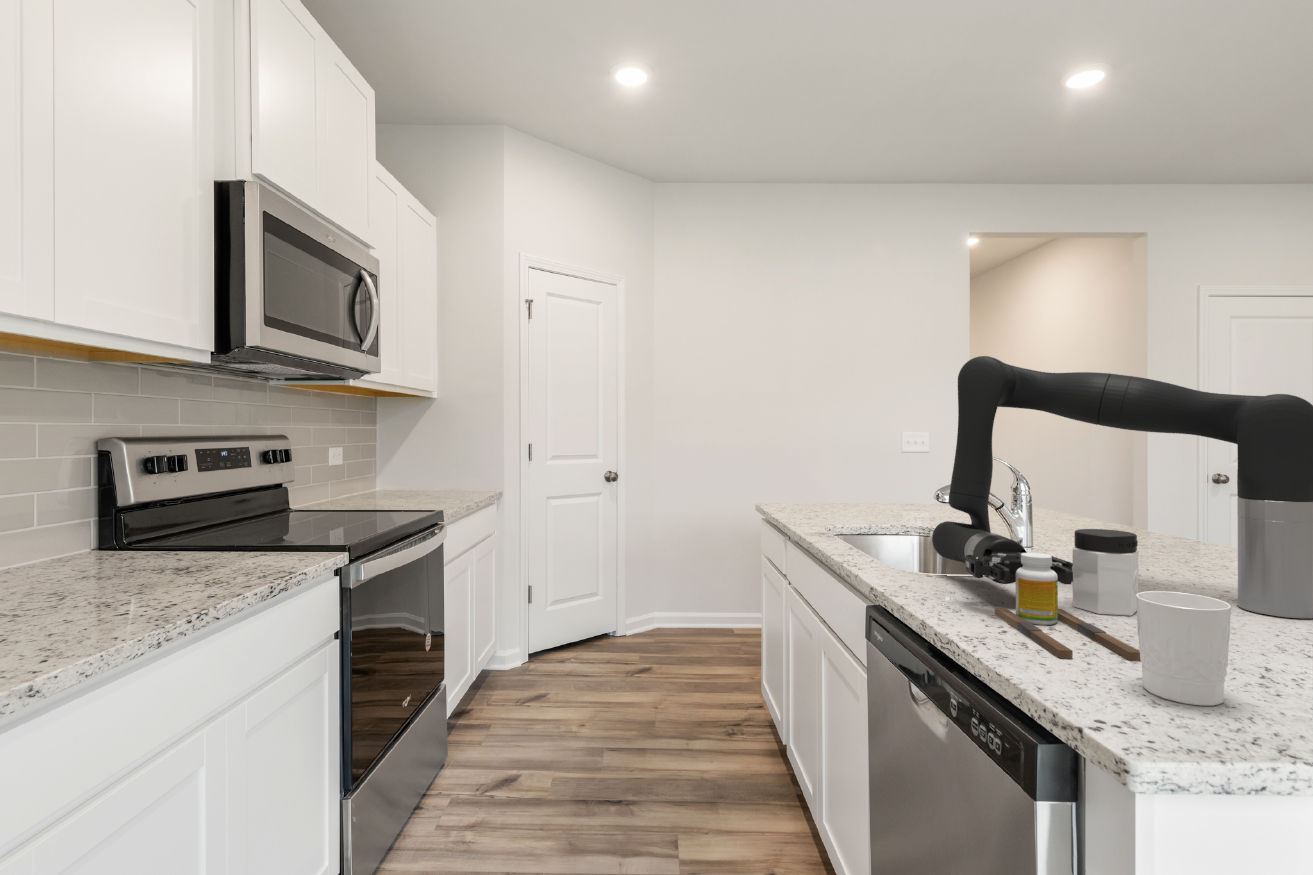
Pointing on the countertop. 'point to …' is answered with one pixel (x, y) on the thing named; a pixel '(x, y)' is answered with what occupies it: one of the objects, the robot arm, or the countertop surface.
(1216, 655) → the white cup
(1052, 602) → the supplement bottle
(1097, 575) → the jar
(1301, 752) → the countertop surface
